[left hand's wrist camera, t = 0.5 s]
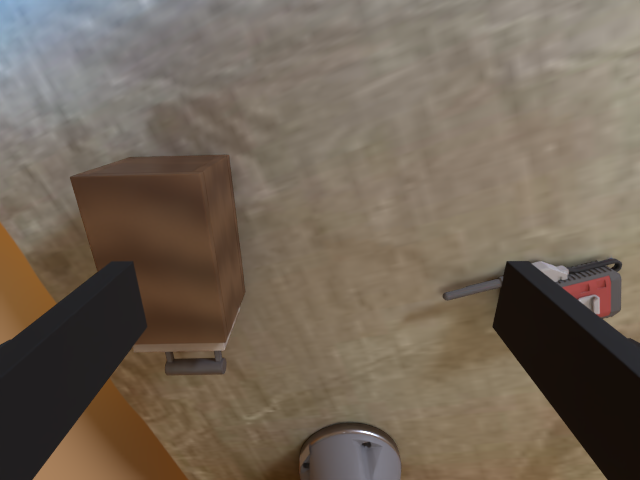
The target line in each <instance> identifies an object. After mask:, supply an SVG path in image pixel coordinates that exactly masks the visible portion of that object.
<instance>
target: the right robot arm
mask: <svg viewBox="0 0 640 480" xmlns="http://www.w3.org/2000/svg"><path fill="white" fill-rule="evenodd" d="M299 474H300V478H301V480H400V477H401V461H400V456H399V452H398V448H397V446H396V444H395V442H394V441H393V439H392V438H391V437H390V436H389V435H387V434H386V433H385V432H383V431H381V430H380V429H378V428H375V427H373V426H369V425H365V424H360V423H342V424H336V425H332V426H329V427H326V428H323V429H321V430H319V431H318V432H316V433H314V434H313V435H312V436H311V437H310V438H309V439H308V440H307V441H306V442H305V443H304V445H303V447H302V449H301V452H300V458H299Z"/></svg>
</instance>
